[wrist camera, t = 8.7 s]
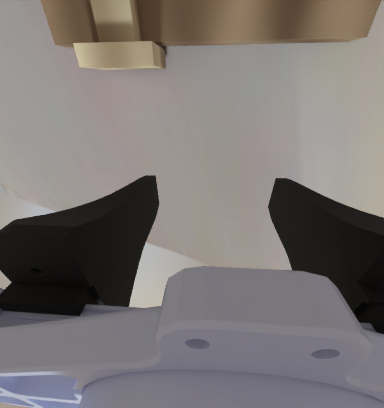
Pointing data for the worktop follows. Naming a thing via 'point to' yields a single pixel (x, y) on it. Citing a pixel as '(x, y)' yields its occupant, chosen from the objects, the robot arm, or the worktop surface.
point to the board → (222, 21)
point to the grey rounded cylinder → (119, 40)
